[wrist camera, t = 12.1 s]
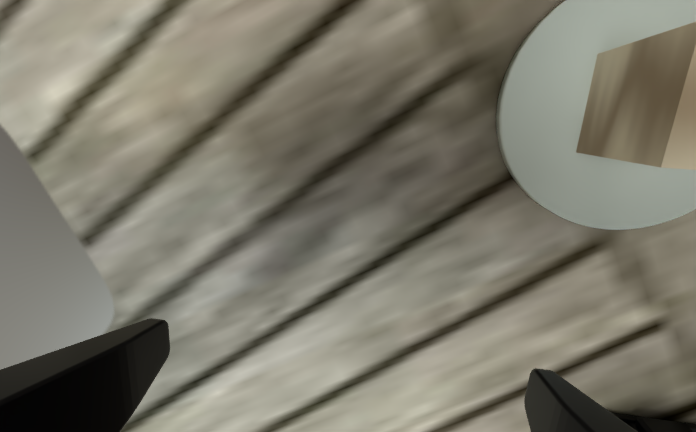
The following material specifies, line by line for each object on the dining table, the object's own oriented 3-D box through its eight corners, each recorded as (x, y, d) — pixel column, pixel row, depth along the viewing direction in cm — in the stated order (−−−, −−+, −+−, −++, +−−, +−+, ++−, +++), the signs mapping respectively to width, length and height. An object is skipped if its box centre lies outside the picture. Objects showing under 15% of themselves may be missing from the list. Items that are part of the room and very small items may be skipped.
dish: (713, 233, 19) (733, 240, 18) (479, 212, 20) (484, 218, 19) (801, -25, 16) (832, -36, 15) (518, -31, 17) (527, -41, 16)
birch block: (675, 158, 17) (812, 177, 12) (575, 152, 18) (660, 167, 12) (704, 58, 16) (872, 24, 11) (597, 53, 17) (702, 19, 11)
